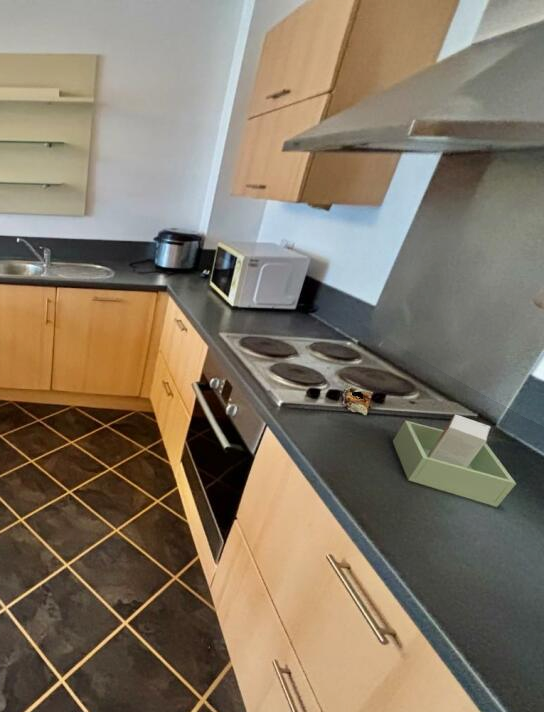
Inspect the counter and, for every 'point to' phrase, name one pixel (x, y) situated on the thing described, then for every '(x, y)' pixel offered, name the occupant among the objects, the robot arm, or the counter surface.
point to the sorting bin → (451, 467)
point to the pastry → (356, 400)
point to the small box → (460, 441)
